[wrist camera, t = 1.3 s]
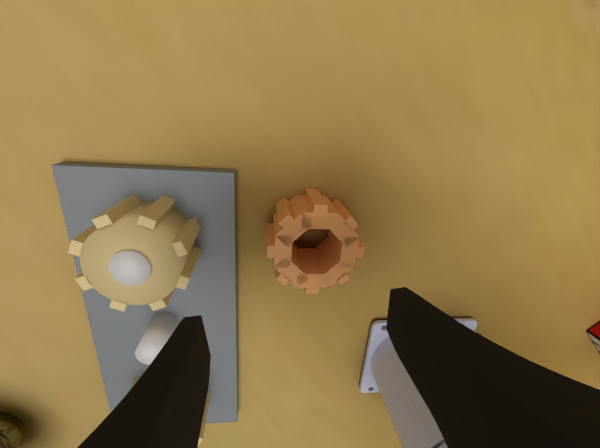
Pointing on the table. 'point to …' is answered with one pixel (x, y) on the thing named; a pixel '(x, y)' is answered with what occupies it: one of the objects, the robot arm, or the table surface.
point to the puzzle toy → (595, 334)
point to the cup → (10, 431)
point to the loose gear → (327, 255)
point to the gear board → (185, 303)
